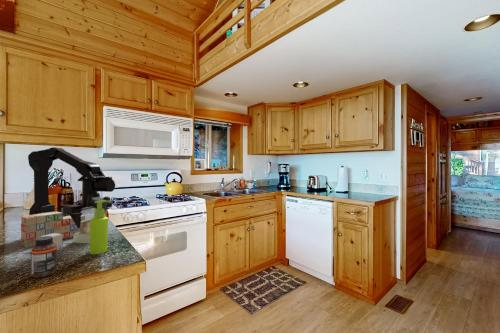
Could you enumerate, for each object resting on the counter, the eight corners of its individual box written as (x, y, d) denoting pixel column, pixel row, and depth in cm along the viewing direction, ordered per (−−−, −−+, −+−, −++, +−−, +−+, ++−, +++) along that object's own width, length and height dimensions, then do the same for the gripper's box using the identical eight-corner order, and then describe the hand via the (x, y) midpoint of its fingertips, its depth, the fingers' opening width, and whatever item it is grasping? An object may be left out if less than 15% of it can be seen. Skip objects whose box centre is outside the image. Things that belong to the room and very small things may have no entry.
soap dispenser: (113, 249, 93) (114, 199, 93) (96, 255, 86) (97, 202, 87) (102, 247, 95) (103, 199, 95) (85, 253, 88) (86, 201, 88)
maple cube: (79, 232, 102) (79, 221, 102) (90, 229, 107) (90, 219, 107) (87, 234, 101) (87, 222, 101) (98, 231, 105) (98, 220, 105)
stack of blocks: (78, 232, 115) (79, 208, 115) (85, 234, 112) (85, 209, 112) (20, 244, 97) (20, 215, 97) (25, 247, 93) (26, 217, 93)
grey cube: (40, 248, 92) (40, 236, 92) (54, 244, 97) (54, 232, 97) (48, 250, 91) (48, 237, 91) (62, 246, 96) (62, 234, 96)
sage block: (73, 243, 100) (73, 233, 100) (88, 237, 108) (88, 229, 108) (89, 244, 99) (89, 235, 99) (103, 238, 107) (103, 230, 107)
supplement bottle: (41, 269, 74) (42, 234, 74) (61, 269, 74) (62, 234, 74) (25, 278, 68) (25, 240, 68) (46, 278, 68) (47, 240, 68)
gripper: (81, 194, 92) (80, 233, 92) (121, 190, 110) (120, 222, 110) (62, 192, 96) (61, 230, 96) (103, 189, 114) (103, 220, 114)
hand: (89, 225), depth 104 cm, fingers open, 9 cm apart
